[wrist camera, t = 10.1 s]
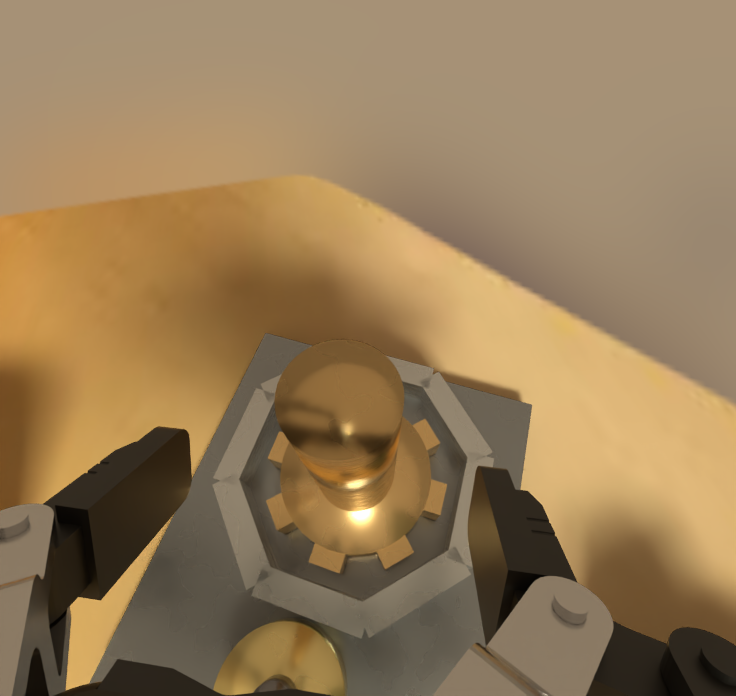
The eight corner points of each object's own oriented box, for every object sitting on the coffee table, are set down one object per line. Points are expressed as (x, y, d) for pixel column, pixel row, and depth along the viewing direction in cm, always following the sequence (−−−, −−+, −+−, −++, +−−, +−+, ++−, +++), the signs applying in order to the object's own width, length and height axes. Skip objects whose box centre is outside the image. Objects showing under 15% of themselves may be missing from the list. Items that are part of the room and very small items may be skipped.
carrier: (104, 681, 19) (35, 706, 15) (270, 342, 27) (252, 304, 23) (462, 846, 16) (486, 927, 12) (525, 412, 24) (551, 382, 20)
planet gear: (246, 538, 20) (123, 498, 10) (310, 384, 24) (264, 251, 14) (416, 601, 19) (457, 623, 9) (456, 427, 22) (514, 311, 13)
